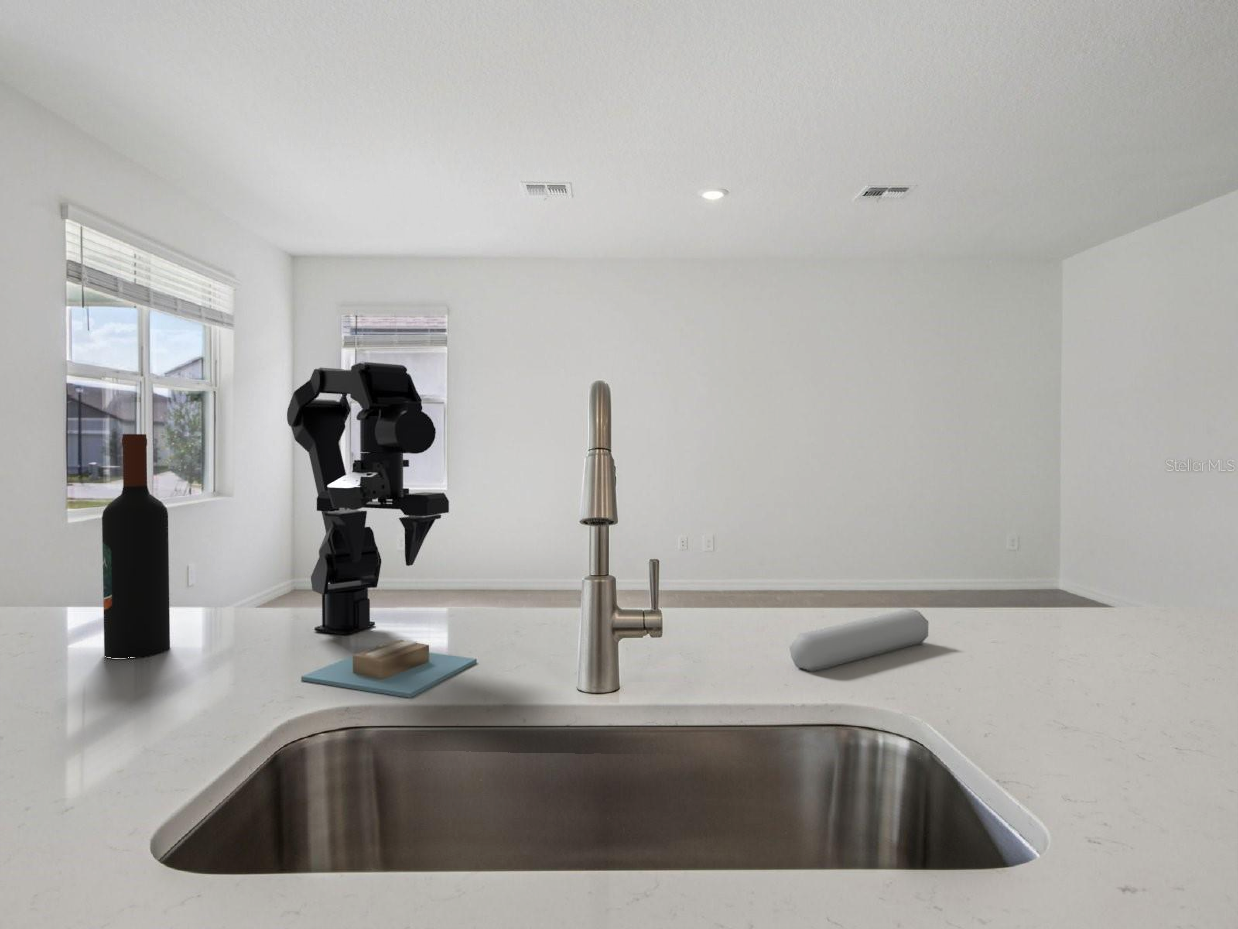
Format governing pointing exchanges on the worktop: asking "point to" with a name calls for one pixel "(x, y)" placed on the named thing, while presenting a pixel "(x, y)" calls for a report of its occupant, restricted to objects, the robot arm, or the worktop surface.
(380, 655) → the brown cardboard box
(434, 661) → the mat
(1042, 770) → the worktop surface
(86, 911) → the worktop surface
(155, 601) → the wine bottle
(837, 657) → the tube
